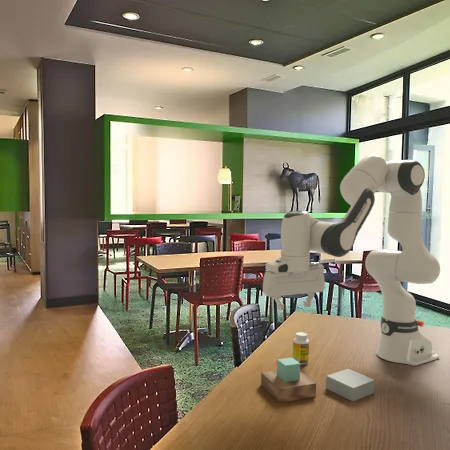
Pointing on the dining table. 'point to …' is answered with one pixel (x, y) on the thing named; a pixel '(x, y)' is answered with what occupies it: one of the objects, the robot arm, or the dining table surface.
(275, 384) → the walnut block
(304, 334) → the supplement bottle
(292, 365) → the teal cube
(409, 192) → the robot arm
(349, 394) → the slate block
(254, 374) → the dining table surface
